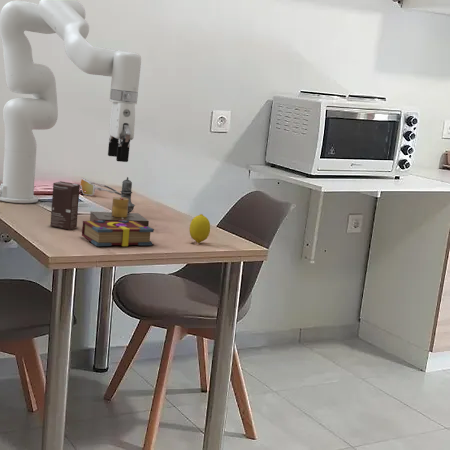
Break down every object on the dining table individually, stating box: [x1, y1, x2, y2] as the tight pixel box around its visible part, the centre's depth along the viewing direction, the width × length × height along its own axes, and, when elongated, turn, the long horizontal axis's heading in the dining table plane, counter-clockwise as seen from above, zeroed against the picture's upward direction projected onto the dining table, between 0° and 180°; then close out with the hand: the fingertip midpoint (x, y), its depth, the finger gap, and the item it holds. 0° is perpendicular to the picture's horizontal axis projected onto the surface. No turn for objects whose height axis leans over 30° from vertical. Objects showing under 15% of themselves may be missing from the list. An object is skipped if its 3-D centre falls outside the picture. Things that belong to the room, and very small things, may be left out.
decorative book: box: [81, 220, 154, 247], centre depth 192 cm, size 11×16×5 cm
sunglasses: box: [79, 177, 121, 197], centre depth 264 cm, size 14×15×5 cm
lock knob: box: [111, 196, 129, 218], centre depth 210 cm, size 4×4×5 cm
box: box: [50, 181, 81, 230], centre depth 201 cm, size 6×4×12 cm
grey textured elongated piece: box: [119, 176, 136, 213], centre depth 227 cm, size 6×6×12 cm
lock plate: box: [89, 211, 150, 227], centre depth 211 cm, size 14×11×3 cm
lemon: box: [188, 213, 211, 244], centre depth 200 cm, size 6×6×8 cm
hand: (117, 158), depth 210 cm, fingers open, 9 cm apart
